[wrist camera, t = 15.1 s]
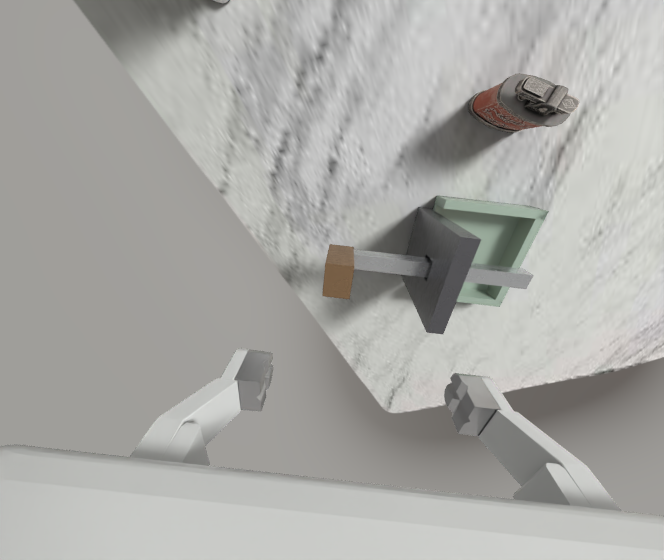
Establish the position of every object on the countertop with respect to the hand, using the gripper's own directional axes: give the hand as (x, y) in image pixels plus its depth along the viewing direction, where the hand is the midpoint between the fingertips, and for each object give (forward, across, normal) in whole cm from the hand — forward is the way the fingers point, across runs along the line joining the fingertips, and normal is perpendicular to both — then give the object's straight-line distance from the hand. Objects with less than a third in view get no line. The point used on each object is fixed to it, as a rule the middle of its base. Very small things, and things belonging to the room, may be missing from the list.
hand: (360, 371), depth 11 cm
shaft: (+22, -11, +4) cm, 25 cm away
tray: (+31, -20, +4) cm, 37 cm away
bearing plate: (+31, -12, +4) cm, 34 cm away
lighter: (+32, -18, -15) cm, 39 cm away
